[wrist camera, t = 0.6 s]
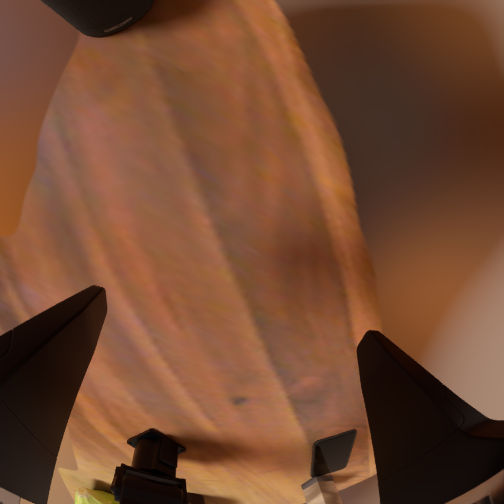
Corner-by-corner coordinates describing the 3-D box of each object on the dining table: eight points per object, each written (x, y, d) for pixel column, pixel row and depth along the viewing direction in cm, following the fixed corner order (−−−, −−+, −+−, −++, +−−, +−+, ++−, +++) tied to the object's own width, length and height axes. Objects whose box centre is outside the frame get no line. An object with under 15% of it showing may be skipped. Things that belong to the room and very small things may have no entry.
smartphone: (312, 439, 33) (309, 475, 38) (314, 443, 33) (310, 478, 37) (356, 426, 34) (345, 465, 38) (358, 429, 33) (346, 468, 37)
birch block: (301, 485, 38) (312, 522, 29) (315, 475, 37) (329, 514, 28) (317, 485, 39) (329, 520, 30) (331, 475, 38) (346, 511, 29)
